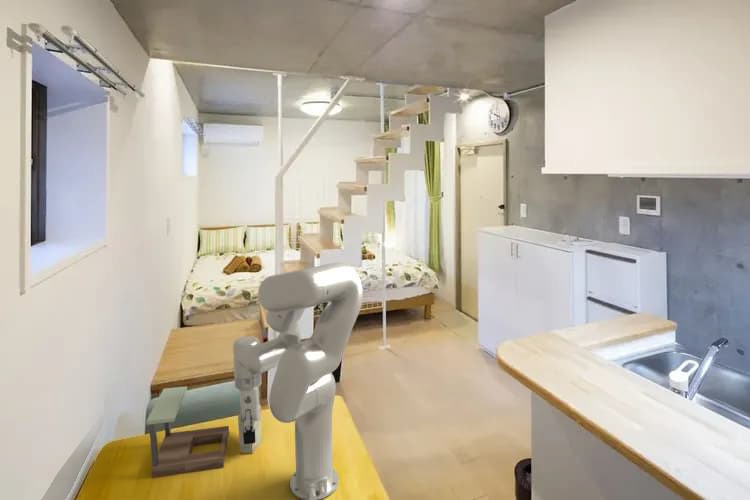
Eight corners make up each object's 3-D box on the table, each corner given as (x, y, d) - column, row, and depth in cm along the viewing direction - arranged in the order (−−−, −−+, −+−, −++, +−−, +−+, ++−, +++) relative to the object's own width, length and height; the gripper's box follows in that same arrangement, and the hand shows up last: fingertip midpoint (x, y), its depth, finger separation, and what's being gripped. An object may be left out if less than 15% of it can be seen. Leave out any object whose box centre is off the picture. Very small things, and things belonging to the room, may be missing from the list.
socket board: (222, 470, 114) (219, 412, 112) (151, 480, 110) (146, 421, 107) (229, 432, 132) (226, 382, 129) (167, 440, 127) (163, 388, 125)
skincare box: (252, 454, 121) (251, 415, 119) (238, 452, 122) (237, 414, 120) (262, 441, 127) (261, 404, 125) (249, 439, 128) (247, 403, 126)
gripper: (260, 392, 114) (262, 450, 117) (262, 365, 131) (263, 417, 133) (231, 395, 112) (234, 454, 115) (237, 368, 129) (239, 420, 131)
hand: (250, 434), depth 124 cm, fingers open, 7 cm apart
